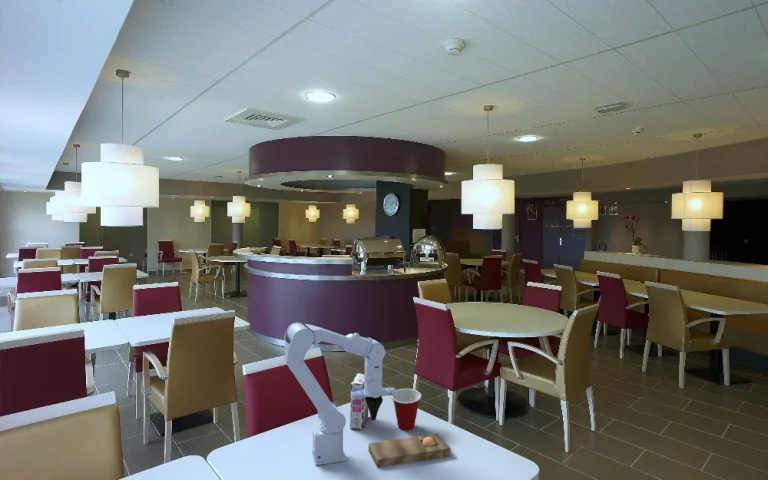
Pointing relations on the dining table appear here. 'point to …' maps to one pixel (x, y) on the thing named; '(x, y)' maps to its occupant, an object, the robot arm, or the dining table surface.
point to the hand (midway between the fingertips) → (373, 418)
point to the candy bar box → (358, 404)
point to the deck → (407, 450)
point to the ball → (428, 442)
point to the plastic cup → (406, 407)
